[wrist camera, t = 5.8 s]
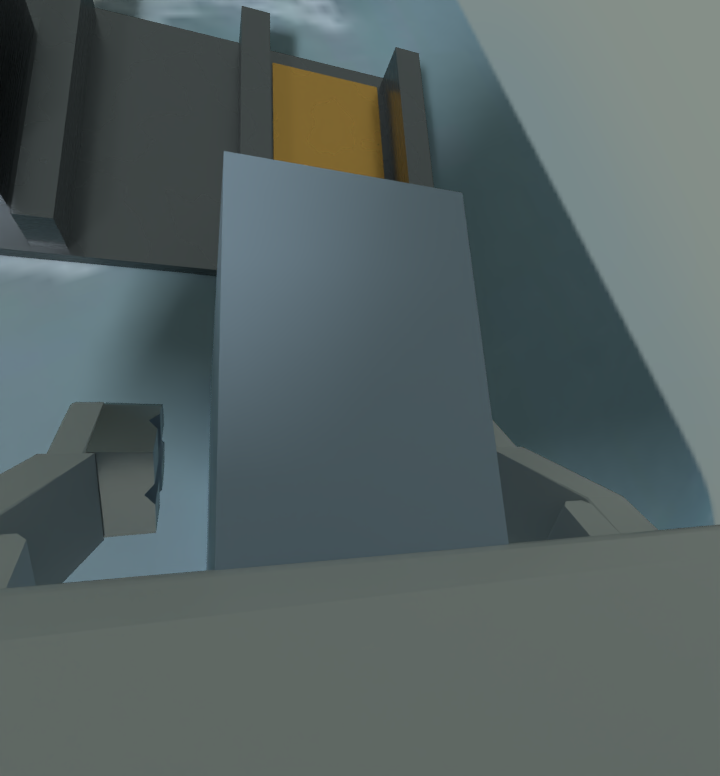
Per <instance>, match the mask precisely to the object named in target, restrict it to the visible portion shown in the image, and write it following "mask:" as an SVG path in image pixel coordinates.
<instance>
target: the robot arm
mask: <svg viewBox="0 0 720 776" xmlns="http://www.w3.org/2000/svg"><path fill="white" fill-rule="evenodd" d="M163 427H164V414H163V404H136V403H104V402H74V403H72V404H71V405H70V407H69V409H68V411H67V413H66V415H65V417H64V419H63V421H62V423H61V425H60V427H59V429H58V431H57V433H56V436H55V438H54V440H53V442H52V444H51V446H50V448H49V450H48V452H47V454H36V455H34V456H33V457H31V458H29V459H27V460H25V461H24V462H22V463H20V464H18V465H16V466H15V467H13V468H11V469H9V470H7V471H5V472H4V473H2V474H0V776H720V525H710V526H699V527H688V528H677V529H666V530H658V529H656V528H655V527H654V526H653V525H652V524H651V523H650V522H649V521H648V520H647V519H646V518H645V517H644V516H643V515H642V514H641V513H640V512H639V511H638V510H637V509H636V508H635V507H633V506H632V505H631V504H630V503H629V502H628V501H627V500H626V499H625V498H624V497H623V496H621V495H619V494H617V493H615V492H613V491H611V490H609V489H607V488H605V487H603V486H601V485H599V484H596V483H594V482H592V481H590V480H588V479H586V478H584V477H582V476H580V475H578V474H576V473H574V472H572V471H570V470H568V469H566V468H564V467H562V466H560V465H558V464H556V463H554V462H552V461H550V460H548V459H546V458H544V457H542V456H540V455H538V454H536V453H534V452H532V451H530V450H528V449H526V448H524V447H516V446H515V444H514V443H513V442H512V441H511V440H510V439H509V438H508V437H507V435H506V434H505V433H504V432H503V431H502V430H501V429H500V428H499V427H498V425H497V424H496V423H495V422H494V421H493V428H494V435H495V443H496V451H497V458H498V466H499V473H500V481H501V488H502V496H503V504H504V511H505V519H506V526H507V534H508V541H509V544H506V545H495V546H484V547H473V548H461V549H450V550H439V551H428V552H416V553H405V554H394V555H382V556H371V557H360V558H348V559H337V560H326V561H315V562H303V563H292V564H281V565H269V566H258V567H247V568H235V569H224V570H206V571H194V572H183V573H172V574H161V575H149V576H138V577H127V578H116V579H104V580H93V581H82V582H71V583H63V582H64V581H65V580H66V579H67V578H68V576H69V575H70V574H71V573H72V572H73V571H74V570H75V569H76V568H77V567H78V566H79V565H80V564H81V563H82V562H83V561H84V560H85V559H86V558H87V557H88V556H89V555H90V554H91V553H92V552H93V551H94V550H95V549H96V547H97V546H98V545H99V544H100V543H101V542H102V541H103V540H104V537H113V536H125V535H136V534H147V533H156V529H157V522H158V515H159V508H160V494H159V492H160V491H161V490H162V486H163V476H164V442H163V441H162V434H163Z"/></svg>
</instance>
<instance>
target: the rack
mask: <svg viewBox="0 0 720 776" xmlns="http://www.w3.org/2000/svg"><path fill="white" fill-rule="evenodd" d="M224 151H227V152H233V153H238V154H244V155H250V156H256V157H261V158H267V159H273V160H278V161H284V162H290V163H296V164H301V165H307V166H313V167H318V168H324V169H330V170H336V171H341V172H347V173H353V174H359V175H364V176H370V177H376V178H381V179H387V180H393V181H399V182H404V183H410V184H416V185H422V186H427V187H433V188H434V184H433V176H432V167H431V158H430V149H429V141H428V132H427V123H426V114H425V105H424V97H423V88H422V79H421V70H420V62H419V53H415V52H412V51H408V50H404V49H400V48H397V47H396V48H395V50H394V53H393V55H392V58H391V60H390V63H389V65H388V68H387V70H386V73H385V75H384V78H380V77H376V76H372V75H368V74H364V73H360V72H356V71H352V70H348V69H344V68H340V67H335V66H331V65H327V64H323V63H319V62H315V61H311V60H307V59H303V58H299V57H295V56H291V55H286V54H282V53H278V52H274V51H270V13H267V12H263V11H259V10H255V9H252V8H248V7H244V6H242V10H241V23H240V37H239V43H237V42H233V41H229V40H225V39H221V38H217V37H213V36H209V35H205V34H201V33H197V32H193V31H188V30H184V29H180V28H176V27H172V26H168V25H164V24H160V23H156V22H152V21H148V20H144V19H139V18H135V17H131V16H127V15H123V14H119V13H115V12H111V11H107V10H103V9H99V8H95V7H94V3H93V0H0V255H6V256H16V257H26V258H37V259H47V260H58V261H68V262H79V263H89V264H100V265H110V266H121V267H131V268H142V269H152V270H163V271H173V272H183V273H194V274H204V275H215V276H217V262H218V244H219V227H220V209H221V191H222V173H223V155H224Z"/></svg>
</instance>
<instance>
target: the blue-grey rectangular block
mask: <svg viewBox="0 0 720 776" xmlns="http://www.w3.org/2000/svg"><path fill="white" fill-rule="evenodd" d="M506 544H509V541H508V534H507V526H506V519H505V511H504V504H503V496H502V488H501V481H500V473H499V466H498V458H497V451H496V443H495V435H494V428H493V420H492V413H491V405H490V398H489V390H488V382H487V375H486V367H485V360H484V352H483V344H482V337H481V329H480V322H479V314H478V307H477V299H476V291H475V284H474V276H473V269H472V261H471V254H470V246H469V238H468V231H467V223H466V216H465V208H464V201H463V193H462V192H456V191H450V190H444V189H439V188H433V187H427V186H422V185H416V184H410V183H404V182H399V181H393V180H387V179H381V178H376V177H370V176H364V175H359V174H353V173H347V172H341V171H336V170H330V169H324V168H318V167H313V166H307V165H301V164H296V163H290V162H284V161H278V160H273V159H267V158H261V157H256V156H250V155H244V154H238V153H233V152H227V151H224V155H223V173H222V191H221V209H220V227H219V244H218V262H217V280H216V298H215V316H214V334H213V352H212V370H211V404H210V443H209V483H208V522H207V562H206V570H224V569H235V568H247V567H258V566H269V565H281V564H292V563H303V562H315V561H326V560H337V559H348V558H360V557H371V556H382V555H394V554H405V553H416V552H428V551H439V550H450V549H461V548H473V547H484V546H495V545H506Z"/></svg>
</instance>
